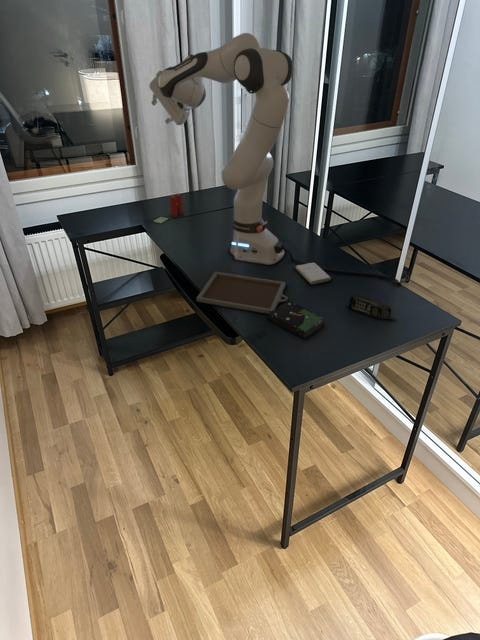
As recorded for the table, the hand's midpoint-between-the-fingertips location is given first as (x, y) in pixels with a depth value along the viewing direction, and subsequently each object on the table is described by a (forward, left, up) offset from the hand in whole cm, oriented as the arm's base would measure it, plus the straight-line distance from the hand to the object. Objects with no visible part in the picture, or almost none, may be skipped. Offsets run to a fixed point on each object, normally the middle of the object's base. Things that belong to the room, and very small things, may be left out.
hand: (160, 113), depth 186 cm
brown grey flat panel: (-67, +48, -45) cm, 94 cm away
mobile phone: (-109, +39, -45) cm, 124 cm away
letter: (-5, +1, -45) cm, 45 cm away
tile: (-1, +9, -45) cm, 46 cm away
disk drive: (-89, +55, -45) cm, 114 cm away
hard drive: (-83, +24, -45) cm, 98 cm away
